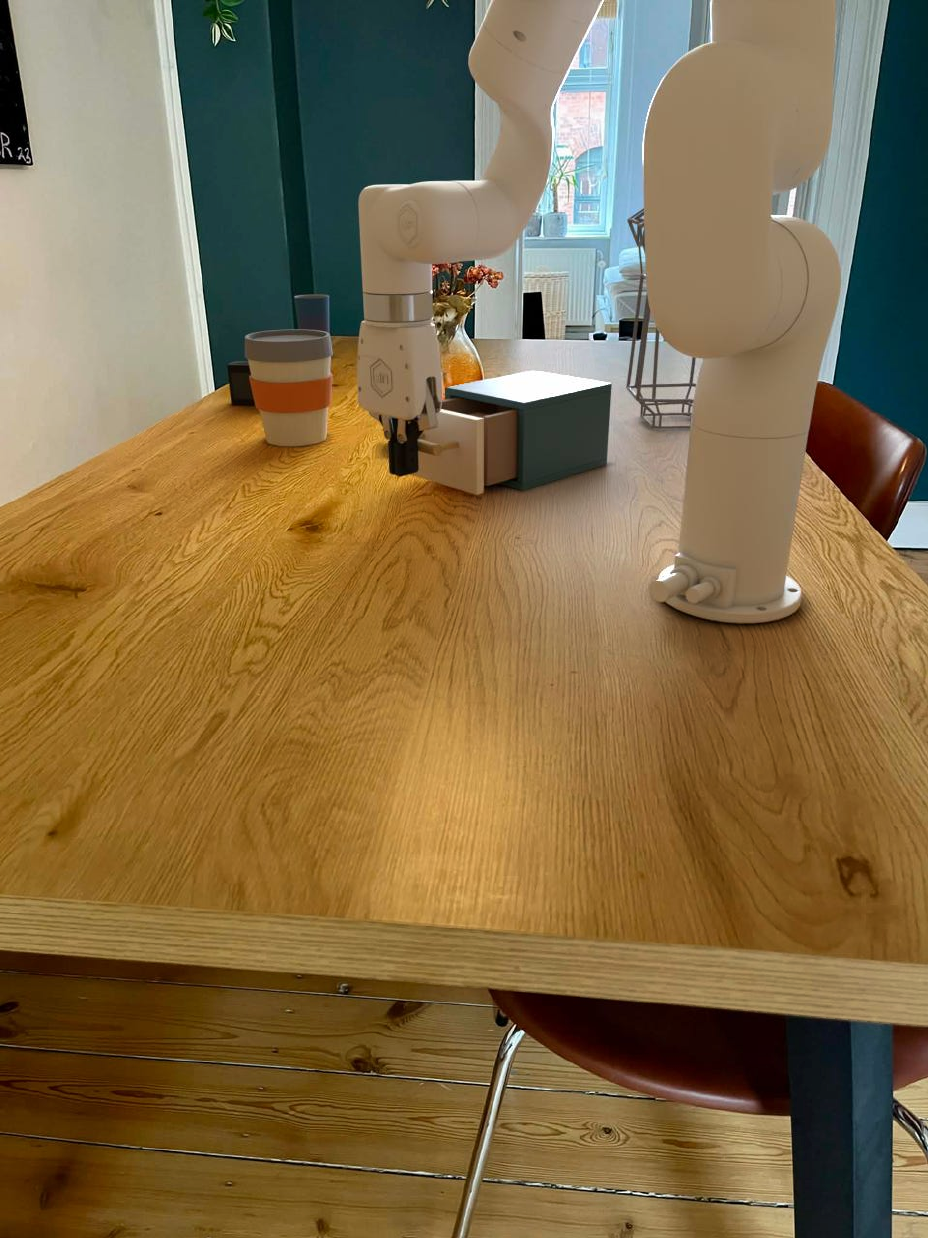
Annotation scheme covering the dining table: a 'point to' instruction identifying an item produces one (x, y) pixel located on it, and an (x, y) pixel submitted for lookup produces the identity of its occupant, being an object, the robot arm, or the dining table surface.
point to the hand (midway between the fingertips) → (404, 472)
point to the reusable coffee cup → (291, 384)
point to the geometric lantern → (638, 381)
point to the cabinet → (549, 422)
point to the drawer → (470, 446)
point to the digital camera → (240, 383)
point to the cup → (312, 312)
